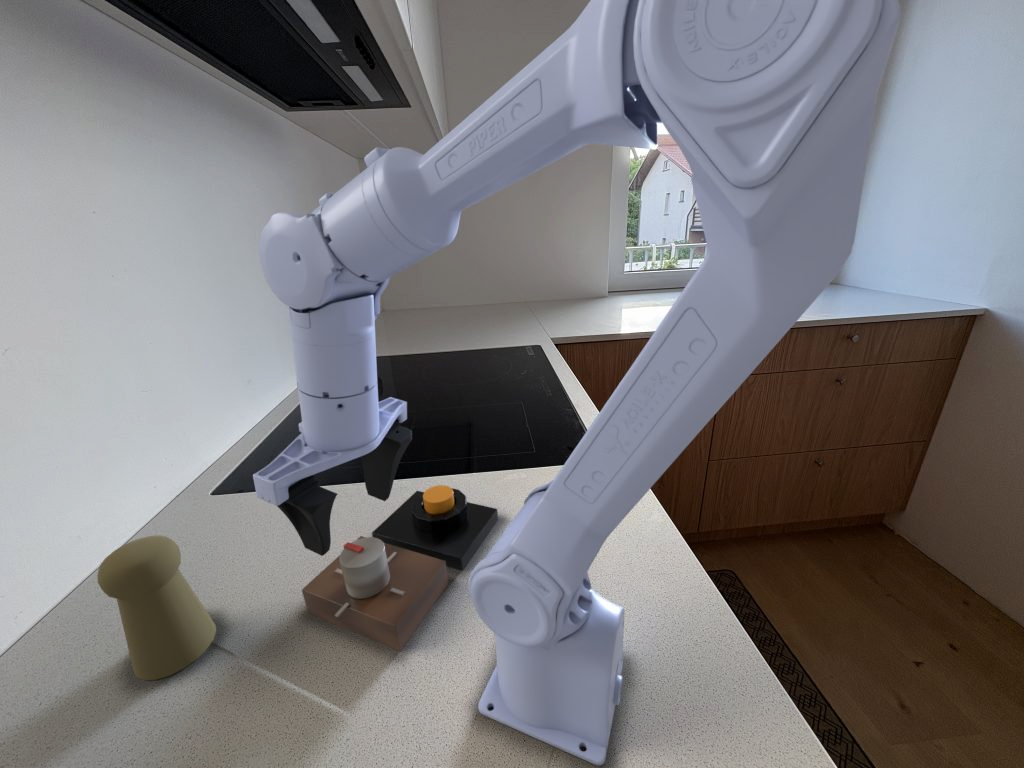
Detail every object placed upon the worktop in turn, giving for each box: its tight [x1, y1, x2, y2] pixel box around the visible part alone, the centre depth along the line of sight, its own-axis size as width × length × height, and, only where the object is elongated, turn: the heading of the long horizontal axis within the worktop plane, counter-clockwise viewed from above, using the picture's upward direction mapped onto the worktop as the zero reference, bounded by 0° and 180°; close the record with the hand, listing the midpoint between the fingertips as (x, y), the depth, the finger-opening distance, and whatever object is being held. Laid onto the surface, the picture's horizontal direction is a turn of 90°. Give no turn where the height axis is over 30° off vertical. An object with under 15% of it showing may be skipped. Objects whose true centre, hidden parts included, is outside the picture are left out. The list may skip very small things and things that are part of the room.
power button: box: [423, 484, 455, 514], centre depth 51 cm, size 4×4×2 cm
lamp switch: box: [371, 487, 499, 572], centre depth 50 cm, size 12×9×4 cm
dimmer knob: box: [339, 536, 390, 599], centre depth 39 cm, size 4×4×4 cm
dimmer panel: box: [301, 535, 449, 652], centre depth 41 cm, size 11×9×3 cm
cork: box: [96, 534, 217, 681], centre depth 36 cm, size 6×6×11 cm
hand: (350, 520), depth 38 cm, fingers open, 7 cm apart
